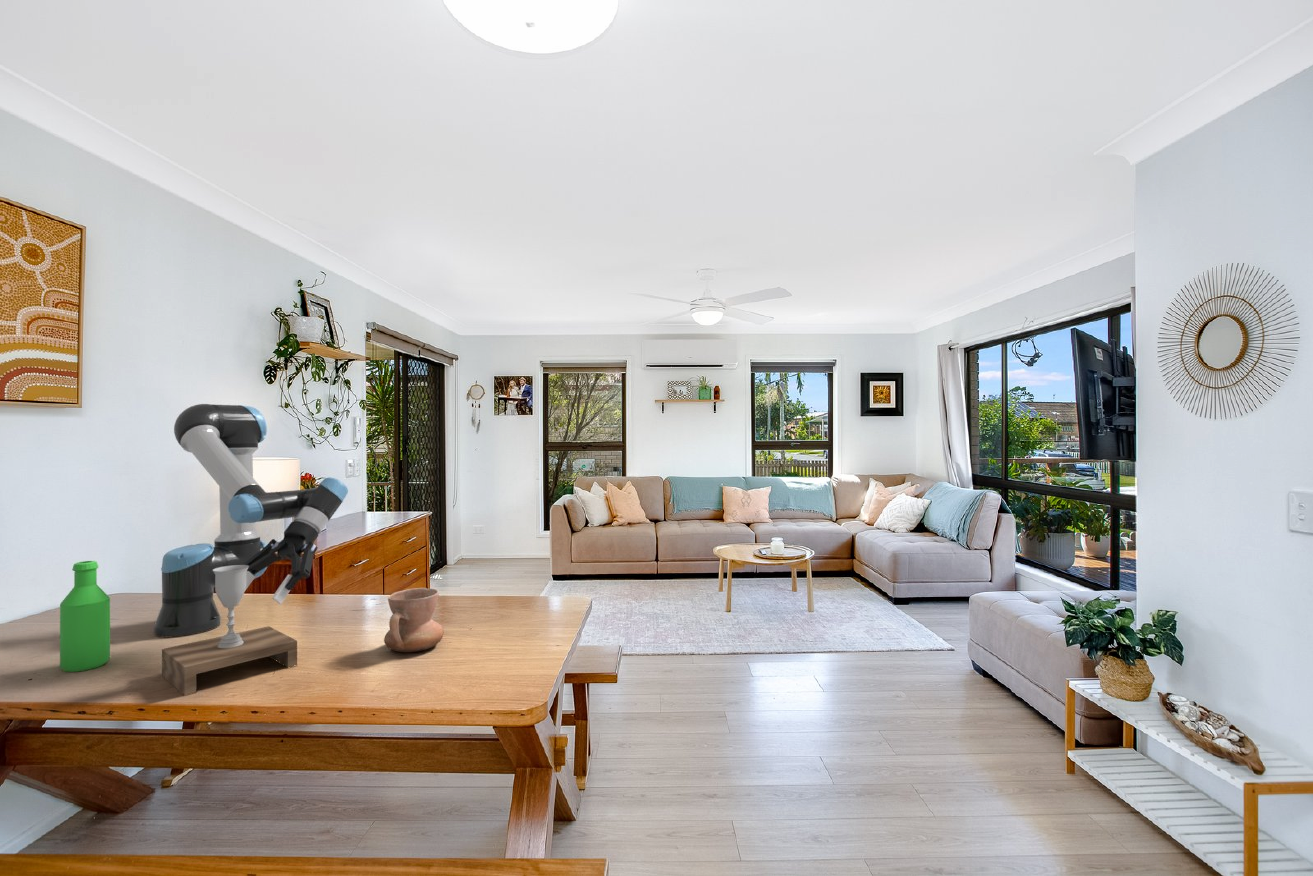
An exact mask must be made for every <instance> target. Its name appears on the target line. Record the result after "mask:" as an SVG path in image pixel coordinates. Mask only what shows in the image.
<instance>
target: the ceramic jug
mask: <svg viewBox="0 0 1313 876" xmlns="http://www.w3.org/2000/svg"><path fill="white" fill-rule="evenodd" d="M438 599H439V590H438V589H435V588H426V587H418V588H417V587H416V588H408V589H405V590H399V591H395V592H393V593H392V594H389V596H387V601H388V607H389V609H390V612H391V614H392V615H391V616H390V618H389V621H388V624H389V629H388V631H387V632H386V633H385V635H384V637H383V642H384V645H385V646H386V647H387V648H388V649H390V650H392V651H394V652H400V653H416V652H421V651H425V650H428V649H430V648H433V647H434V646H436V645H438V643H440V642H441V641H442V639H443V636H444V632H445V631H444V628H443V626H442V625H441V624H440V623H439V622H436V621H435V620H433V619H432V617H433V615H434V612H435V610H436V607H437V604H438Z"/></svg>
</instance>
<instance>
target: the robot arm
mask: <svg viewBox="0 0 1313 876" xmlns="http://www.w3.org/2000/svg"><path fill="white" fill-rule="evenodd" d="M267 427H268V426H267V422H266V419H265V416H264V415H263V414H262V412H261V411H260V410H259V409H257V408H255V407H253V406H247V405H240V404H238V405H237V404H235V405H234V404H232V405H231V404H209V403H199V404H195V405H192V406H189V407H187V408H185V409H184V410H183V411H182V412H180V414H178V416H177V418H176V419H175V422H174V426H173V433H174V437H175V440H176V441H177V443H178V445H180V446H181V448H182V449H183V450H184V451H185V452H188V453H192V455H193V456H194V457H195V459H197V461H198V462H199V463H200V464H201V466H202V467H203V468H204V470H206V472H207V473H208V474H209V476H211V478H212V479H213V480H214V481H215V483H216V484H217V485H218V487H219V489H218V490H219V526H220V527H219V529H220V530H219V531H220V533H219V535H218V536H217V537H216V538H215V539H214V542H213V543H214V544H211V543H196V544H189V545H184V546H181V547H176V548H174V549H171V550H169V551H168V552H166V553H165V554H164V555H162V560H161V561H162V562H161V567H160V569H161V600H162V601H161V603H162V604H161V607H160V610H159V612H158V615H157V618H156V621H155V622H154V626H153V628H154V629H153V634H154V636H157V637H161V638H162V636H163V637H164V638H166V636H167V638H169V636H174V637H183V636H189V635H197V634H201V633H204V632H208V631H212V630H213V629H212V628H214V629H216V628H218V627H219V626H220V625H221V624H220V623H221V618H222V617H221V615H220V612H219V609H218V607H217V605H216V603H215V602H216V601H215V600H214V588H215V573H214V572H213V569H215V568H219V567H224V566H232V565H248V566H249V567H248V569H247V571H246V589H245V591H246V590H247V589H248V588H249V586H250V585H251V583H252V582H253V580H255V579H257V578H259V577H261V576H262V575H263V574H264V572H265V571H266V570H267V568H268V567H269V566H270V565H272V564H274V563H275V562H279V561H281V560H290V565H291V566H290V567H291V568H290V569H291V571H290V572H289V573H290V574H287V575H286V577H285V578H284V579H283V581H282V582H281V584H280V585H279V586H278V588H277V590H276V591H275V592H274V594H273V595H272V597H271V599H273V600H274V601H275V602H276V603H278V604H280V605H281V604H282V603H283V602H284V600H286V598H287V596H288V595H289V593H290V591H292V590H293V589H294V588H295V586H296V585H297V584H298V582H299V581H301V580H302V579H303V578H304V579H308V578H310V576H311V570H312V567H313V563H314V557H315V553H316V552H317V550H318V547H317V545H315V542H316V540H317V538H318V537H319V535H320V534H321V533H322V532H323V530H324V528H325V527H326V525H327V524H328V523H329V521H330V520H331V518H332V517H333V516H334V514H336V512H337V511H338V508H339V507H340V506H341V504H342V503H343V502H344V500H345V498H346V497H347V495H348V492H349V489H348V486H347V485H346V484H345V483H344V482H342V481H341V480H339V479H338V478H335V477H330V476H329V477H325V478H324V479H323V480H322V481H321V482H319V483H318V486H317V487H311V488H306V489H304V488H303V489H296V490H284V491H270V492H267V491H265V490H264V489H263V487H262V486H261V485H260V484H259V483H258V482H257V481H256V479H255V478H254V472H253V471H254V468H253V467H254V466H253V463H254V462H253V461H254V460H253V454H254V453H255V452H256V451H257V450H259V443H262V442H263V441H265V438H266V436H267V432H268V428H267ZM289 518H292V519H293V520H292V521H291V522H290V524H288V526H287V528H286V529H285V530H284V532H283V539H281V540H280V541H277V540H276V539H275V538H272V539H271V540H270V541H269V542H268V543H266V542H265V541H263V540H262V539H261V534H258V533H257V532H256V531H255V523H259V522H266V521H273V520H275V521H276V520H282V519H289ZM217 626H218V627H217ZM215 627H216V628H215ZM200 632H201V633H200Z"/></svg>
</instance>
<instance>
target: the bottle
mask: <svg viewBox="0 0 1313 876" xmlns="http://www.w3.org/2000/svg"><path fill="white" fill-rule="evenodd" d="M97 569H99V564H98V562H97V561H96V560H85V561H84V560H83V561H79V562H76V563H74V564H73V566H72V571H73V572H74V577H73V578H74V580H73V581H74V582H73V583H74V585H73V587H72V589H71V590H70V591H69V592H68V594H67V595H66V596H65V598H64V599H63V600H62V601H61V602H60V604H59V606H60V607H59V668H60V670H63V671H65V672H68V673H69V672H70V673H76V672H83V671H84V672H85V671H89V670H93V669H96V668H99V667H102V666H104V665H105V664H106V663H107V662H108V661H110V660H111V597H110V596H109V595H108V594H107V593H106V592H105V591H104V590H103V589H102V588H101V587H100V586H99V585H98V584H97V579H98V578H97V576H98V575H97V572H98V571H97Z"/></svg>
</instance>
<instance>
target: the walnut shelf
mask: <svg viewBox="0 0 1313 876" xmlns="http://www.w3.org/2000/svg"><path fill="white" fill-rule="evenodd" d="M237 633H238V634H239V635H240V637H241V638H242V641H243V642H244V643H243V644H242V645H239V646H236V647H231V648H218V645H219V643H220V641H221V638H222V637H223V636H224V635H221V636H216V637H211V638H207V639H202V640H197V641H193V642H188V643H185V644H179V645H174V646H169V647H165V648H161V676H162V677H163V678H164V679H165V680H167V681H168V682H169V683H170V684H171V685H172V686H174V688H175V689H176V690H178V691H179V692H180V691H181V692H182V693H183V694H184V695H183V694H182V693H181V692H180V693H181V694H182V695H183V696H188V695H189V696H190V695H193V694H196V693H197V675H198V674H201V673H207V672H209V671H210V672H211V671H214V670H217V669H223V668H226V667H227V668H228V667H230V666H234V665H235V666H236V665H238V664H242V663H245V662H250V661H255V660H258V659H263V658H267V657H268V656H269V657H268V658H270V657H271V658H270V659H272V660H274V659H275V660H277V661H278V662H277V661H276V662H277V663H279V662H280V663H281V665H282V664H284V665H285V666H287V667H290V668H292V667H291V666H294V665H297V666H298V640H297V639H294V638H293V637H291V636H289V635H287V634H285V633H284V632H282V631H279V630H277V629H275V628H273V627H272V626H269V625H267V626H263V627H258V628H254V629H251V630H250V629H249V630H245V631H240V632H237ZM275 660H274V661H275ZM280 663H279V664H280ZM284 665H283V666H284ZM285 666H284V667H285ZM287 667H286V668H287ZM294 667H295V666H294ZM192 693H193V694H192Z"/></svg>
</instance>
